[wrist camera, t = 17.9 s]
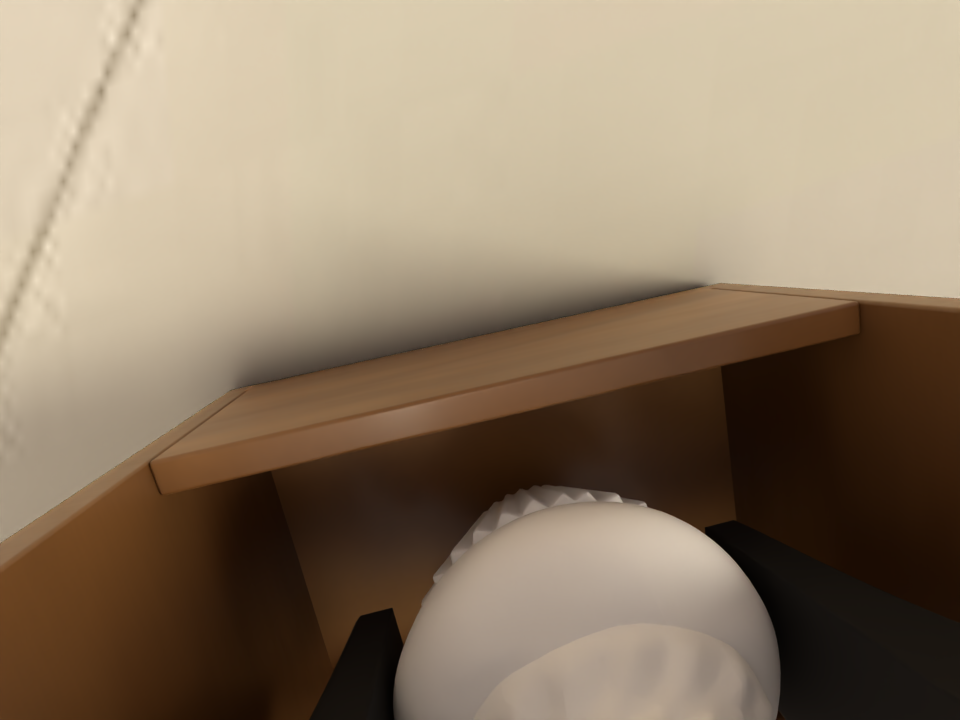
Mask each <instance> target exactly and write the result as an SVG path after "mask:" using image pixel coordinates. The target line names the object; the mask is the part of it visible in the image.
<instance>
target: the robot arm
mask: <svg viewBox="0 0 960 720" xmlns="http://www.w3.org/2000/svg"><path fill="white" fill-rule="evenodd" d="M705 535H707V536H708V537H709V538H710V539H712V540H713V541H714V542H716V543H717V544H718V545H719V546H720V547H721V548H722V549H723V550H724V551H726V552H727V553H728V554H729V555H730V556H731V558H732V559H733V560H734V561H735V562H736V563H737V564H738V566H739V567H740V568H741V569H742V571H743V572H744V573H745V575H746V576H747V577H748V578H749V580H750V581H751V583H752V585H753V586H754V588H755V589H756V591H757V593H758V594H759V596H760V598H761V600H762V601H763V603H764V605H765V607H766V609H767V612H768V614H769V616H770V618H771V621H772V624H773V627H774V630H775V634H776V638H777V642H778V649H779V657H780V670H781V678H780V697H779V705H778V710H779V712H780V713H781V714H782V716H783V717H784V718H785V719H786V720H960V623H958V622H956V621H953V620H951V619H948V618H946V617H943V616H941V615H939V614H936V613H934V612H932V611H929V610H927V609H924V608H922V607H920V606H917V605H915V604H913V603H910V602H908V601H906V600H903V599H901V598H899V597H896V596H894V595H892V594H889V593H887V592H885V591H883V590H880V589H878V588H876V587H874V586H872V585H869V584H867V583H865V582H863V581H861V580H858V579H856V578H854V577H852V576H850V575H848V574H846V573H843V572H841V571H839V570H837V569H835V568H833V567H831V566H829V565H827V564H825V563H823V562H820V561H818V560H816V559H814V558H812V557H810V556H808V555H806V554H804V553H802V552H800V551H798V550H796V549H794V548H792V547H790V546H788V545H786V544H784V543H782V542H780V541H778V540H775V539H773V538H771V537H769V536H767V535H765V534H763V533H761V532H759V531H757V530H755V529H753V528H751V527H749V526H746V525H744V524H742V523H740V522H738V521H735V520H731V521H728V522H724V523H720V524H716V525H712V526H708V527H705ZM403 647H404V645H403V642H402V638H401V635H400V631H399V628H398V625H397V621H396V618H395V615H394V611H393V608H388V609H385V610H381V611H377V612H373V613H369V614H365V615H361V616H360V617H359V618H358V620H357V621H356V623H355V625H354V627H353V630H352V632H351V634H350V636H349V639H348V641H347V643H346V645H345V647H344V650H343V652H342V654H341V656H340V658H339V660H338V662H337V665H336V667H335V669H334V671H333V673H332V675H331V677H330V679H329V681H328V683H327V685H326V687H325V690H324V691H323V693H322V695H321V697H320V699H319V701H318V703H317V705H316V707H315V709H314V711H313V713H312V715H311V717H310V719H309V720H394V713H393V691H394V681H395V676H396V671H397V666H398V662H399V659H400V656H401V652H402V650H403Z"/></svg>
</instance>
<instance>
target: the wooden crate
mask: <svg viewBox="0 0 960 720" xmlns="http://www.w3.org/2000/svg"><path fill="white" fill-rule="evenodd" d="M534 485H537V486H540V487H541V486H543V485H551V486H565V487H572V488H580V489H587V490H596V491H604V492H611V493H616V494H618V495H619V496H620V497H621V498H627V499H633V500H639V501H644V502H645V503H646V504H647V507H648V508H652V509H655V510H659V511H662V512H664V513H667V514H669V515H672V516H674V517H676V518H678V519H680V520H682V521H684V522H686V523H688V524H690V525H692V526H693V527H695V528H696V529H698V530H699V531H701V532H702V533H704V534H705V527H708V526H712V525H716V524H720V523H724V522H728V521H731V520H735V521H738V522H740V523H742V524H744V525H746V526H749V527H751V528H753V529H755V530H757V531H759V532H761V533H763V534H765V535H767V536H769V537H771V538H773V539H775V540H778V541H780V542H782V543H784V544H786V545H788V546H790V547H792V548H794V549H796V550H798V551H800V552H802V553H804V554H806V555H808V556H810V557H812V558H814V559H816V560H818V561H820V562H823V563H825V564H827V565H829V566H831V567H833V568H835V569H837V570H839V571H841V572H843V573H846V574H848V575H850V576H852V577H854V578H856V579H858V580H861V581H863V582H865V583H867V584H869V585H872V586H874V587H876V588H878V589H880V590H883V591H885V592H887V593H889V594H892V595H894V596H896V597H899V598H901V599H903V600H906V601H908V602H910V603H913V604H915V605H917V606H920V607H922V608H924V609H927V610H929V611H932V612H934V613H936V614H939V615H941V616H943V617H946V618H948V619H951V620H953V621H956V622H958V623H960V299H958V298H943V297H927V296H912V295H896V294H881V293H865V292H850V291H834V290H819V289H803V288H788V287H772V286H757V285H741V284H726V283H718V284H714V285H709V286H705V287H700V288H696V289H691V290H686V291H682V292H677V293H673V294H668V295H664V296H659V297H654V298H650V299H645V300H641V301H636V302H632V303H627V304H622V305H618V306H613V307H609V308H604V309H600V310H595V311H591V312H586V313H581V314H577V315H572V316H568V317H563V318H559V319H554V320H549V321H545V322H540V323H536V324H531V325H527V326H522V327H517V328H513V329H508V330H504V331H499V332H495V333H490V334H485V335H481V336H476V337H472V338H467V339H463V340H458V341H453V342H449V343H444V344H440V345H435V346H431V347H426V348H421V349H417V350H412V351H408V352H403V353H399V354H394V355H389V356H385V357H380V358H376V359H371V360H367V361H362V362H358V363H353V364H348V365H344V366H339V367H335V368H330V369H326V370H321V371H316V372H312V373H307V374H303V375H298V376H294V377H289V378H284V379H280V380H275V381H271V382H266V383H262V384H257V385H252V386H247V387H243V388H238V389H234V390H230V391H229V392H227V393H226V394H224V395H223V396H221V397H220V398H218V399H217V400H215V401H214V402H212V403H211V404H209V405H208V406H206V407H205V408H203V409H202V410H200V411H199V412H197V413H196V414H194V415H193V416H191V417H190V418H188V419H187V420H185V421H184V422H182V423H181V424H179V425H178V426H176V427H175V428H173V429H172V430H170V431H169V432H167V433H166V434H164V435H163V436H161V437H160V438H158V439H157V440H155V441H154V442H152V443H151V444H149V445H148V446H146V447H145V448H143V449H142V450H140V451H139V452H137V453H136V454H134V455H133V456H131V457H130V458H128V459H127V460H125V461H124V462H122V463H121V464H119V465H118V466H116V467H115V468H113V469H112V470H110V471H108V472H107V473H105V474H104V475H102V476H101V477H99V478H98V479H96V480H95V481H93V482H92V483H90V484H89V485H87V486H86V487H84V488H83V489H81V490H80V491H78V492H77V493H75V494H74V495H72V496H71V497H69V498H68V499H66V500H65V501H63V502H62V503H60V504H59V505H57V506H56V507H54V508H53V509H51V510H50V511H48V512H47V513H45V514H44V515H42V516H41V517H39V518H38V519H36V520H35V521H33V522H32V523H30V524H29V525H27V526H26V527H24V528H23V529H21V530H20V531H18V532H17V533H15V534H14V535H12V536H11V537H9V538H8V539H6V540H5V541H3V542H2V543H0V720H309V719H310V717H311V715H312V713H313V711H314V709H315V707H316V705H317V703H318V701H319V699H320V697H321V695H322V693H323V691H324V690H325V687H326V685H327V683H328V681H329V679H330V677H331V675H332V673H333V671H334V669H335V667H336V665H337V662H338V660H339V658H340V656H341V654H342V652H343V650H344V647H345V645H346V643H347V641H348V639H349V636H350V634H351V632H352V630H353V627H354V625H355V623H356V621H357V620H358V618H359V617H360V616H361V615H365V614H369V613H373V612H377V611H381V610H385V609H388V608H393V611H394V615H395V618H396V621H397V625H398V628H399V631H400V635H401V638H402V642H403V645H404V644H405V642H406V639H407V636H408V634H409V632H410V630H411V628H412V625H413V623H414V621H415V619H416V616H417V614H418V613H419V611H420V609H421V607H422V606H421V603H422V600H423V598H424V597H425V595H426V594H427V593H428V591H429V590H430V588H431V587H432V586H433V584H434V583H435V582H434V580H433V576H434V574H435V573H436V572H437V570H438V569H439V568H440V567H441V565H442V564H443V563H444V562H445V561H446V559H447V558H448V557H449V555H450V554H451V552H452V550H453V549H454V547H455V546H456V545H457V544H458V543H459V542H460V540H461V539H462V538H463V536H464V535H465V534H466V533H467V532H468V530H469V529H470V528H471V527H472V526H473V524H474V523H475V522H476V521H477V519H478V518H479V517H480V516H481V515H482V513H483V512H484V511H488V510H489V508H490V507H491V506H492V505H493V503H494V502H500V501H502V500H503V499H504V498H505V495H507V494H510V495H513V494H515V493H516V492H517V491H518V490H519V489H524V490H529V489H530V488H531V487H532V486H534ZM776 720H786V719H785V718H784V717H783V716H782V714H781V713H780V712H779V710H778V713H777V718H776Z"/></svg>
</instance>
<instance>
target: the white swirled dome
mask: <svg viewBox="0 0 960 720" xmlns="http://www.w3.org/2000/svg"><path fill="white" fill-rule="evenodd" d="M433 580H434V582H435V583H434V584H433V586H432V587H431V588H430V590H429V591H428V593H427V594H426V595H425V597H424V598H423V600H422V603H421V606H422V607H421V609H420V611H419V613H418V614H417V616H416V619H415V621H414V623H413V625H412V628H411V630H410V632H409V634H408V636H407V639H406V642H405V644H404V647H403V650H402V652H401V656H400V659H399V662H398V666H397V671H396V676H395V681H394V691H393V713H394V720H776V718H777V713H778V705H779V697H780V678H781V670H780V657H779V649H778V642H777V638H776V634H775V630H774V627H773V624H772V621H771V618H770V616H769V614H768V612H767V609H766V607H765V605H764V603H763V601H762V600H761V598H760V596H759V594H758V593H757V591H756V589H755V588H754V586H753V585H752V583H751V581H750V580H749V578H748V577H747V576H746V575H745V573H744V572H743V571H742V569H741V568H740V567H739V566H738V564H737V563H736V562H735V561H734V560H733V559H732V558H731V556H730V555H729V554H728V553H727V552H726V551H724V550H723V549H722V548H721V547H720V546H719V545H718V544H717V543H716V542H714V541H713V540H712V539H710V538H709V537H708V536H707V535H705V534H704V533H702V532H701V531H699V530H698V529H696V528H695V527H693V526H692V525H690V524H688V523H686V522H684V521H682V520H680V519H678V518H676V517H674V516H672V515H669V514H667V513H664V512H662V511H659V510H655V509H652V508H648V507H647V504H646V503H645V502H644V501H639V500H633V499H627V498H621V497H620V496H619V495H618V494H616V493H611V492H604V491H596V490H587V489H580V488H572V487H565V486H551V485H543V486H541V487H540V486H537V485H534V486H532V487H531V488H530V489H529V490H524V489H519V490H518V491H517V492H516V493H515V494H513V495H510V494H507V495H505V498H504V499H503V500H502V501H500V502H494V503H493V505H492V506H491V507H490V508H489V510H488V511H484V512H483V513H482V515H481V516H480V517H479V518H478V519H477V521H476V522H475V523H474V524H473V526H472V527H471V528H470V529H469V530H468V532H467V533H466V534H465V535H464V536H463V538H462V539H461V540H460V542H459V543H458V544H457V545H456V546H455V547H454V549H453V550H452V552H451V554H450V555H449V557H448V558H447V559H446V561H445V562H444V563H443V564H442V565H441V567H440V568H439V569H438V570H437V572H436V573H435V574H434V576H433Z"/></svg>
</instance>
